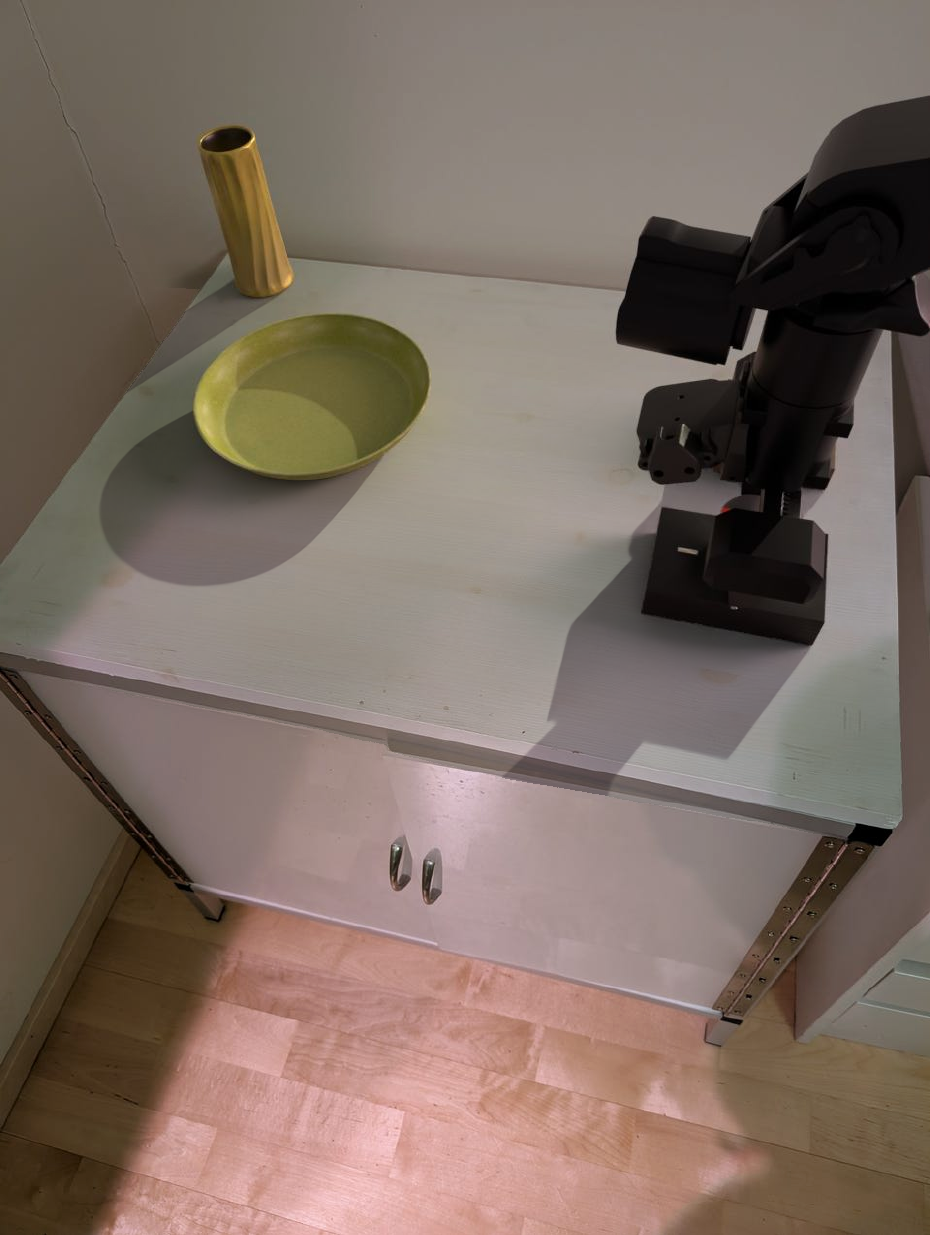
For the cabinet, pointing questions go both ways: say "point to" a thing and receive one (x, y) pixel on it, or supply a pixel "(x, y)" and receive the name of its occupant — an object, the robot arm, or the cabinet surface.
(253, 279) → the vase
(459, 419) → the cabinet surface
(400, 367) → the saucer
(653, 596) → the panel
